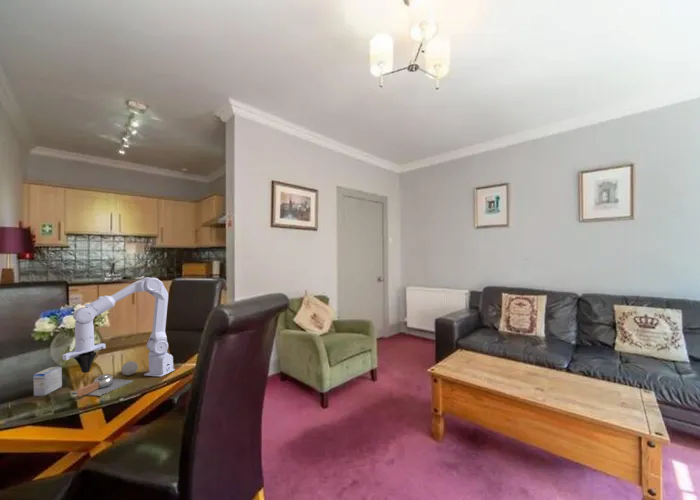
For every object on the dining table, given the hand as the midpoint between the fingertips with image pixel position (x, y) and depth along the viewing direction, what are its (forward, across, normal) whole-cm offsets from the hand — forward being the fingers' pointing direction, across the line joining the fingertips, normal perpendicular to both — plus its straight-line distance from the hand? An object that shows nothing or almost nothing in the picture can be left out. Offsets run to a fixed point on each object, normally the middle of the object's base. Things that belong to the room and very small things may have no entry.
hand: (85, 372), depth 122 cm
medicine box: (+9, +2, -18) cm, 20 cm away
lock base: (+8, -6, +2) cm, 10 cm away
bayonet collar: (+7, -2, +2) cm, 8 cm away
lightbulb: (+7, -23, -7) cm, 25 cm away
